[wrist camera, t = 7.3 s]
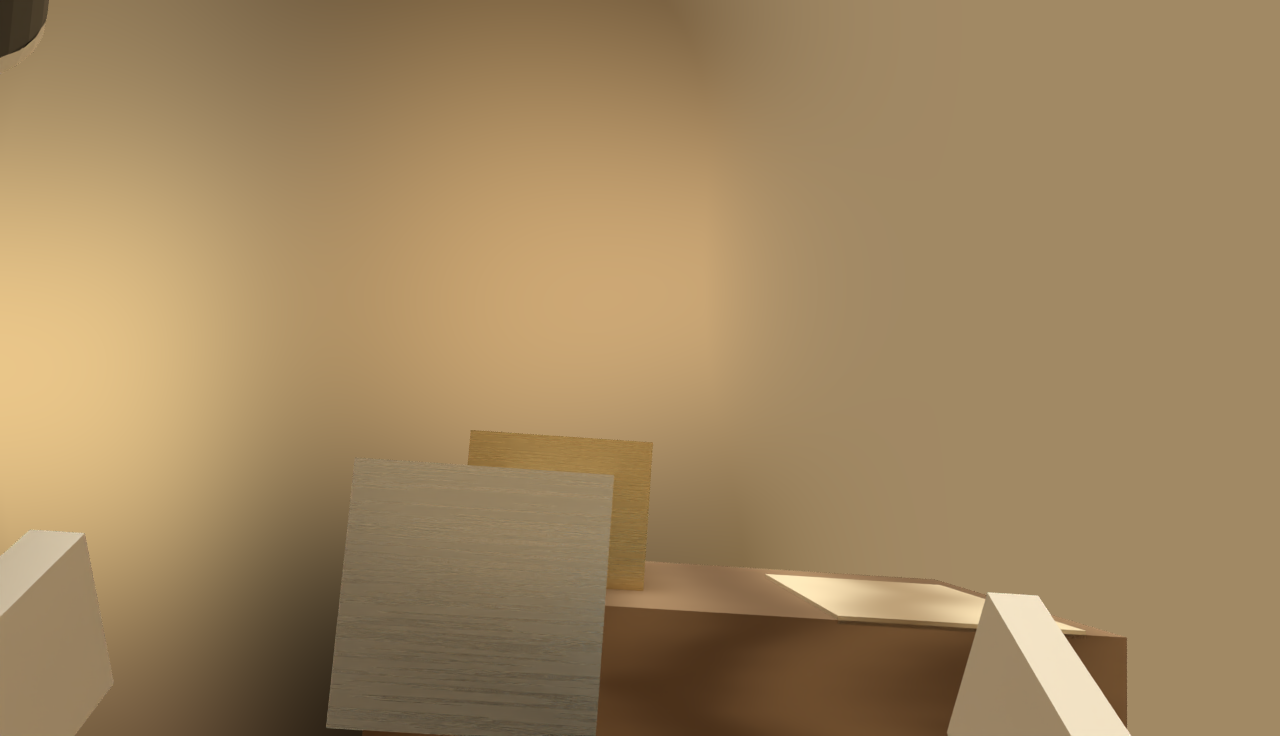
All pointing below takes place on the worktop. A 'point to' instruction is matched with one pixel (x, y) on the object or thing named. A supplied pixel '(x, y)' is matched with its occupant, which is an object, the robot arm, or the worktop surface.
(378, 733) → the walnut shelf
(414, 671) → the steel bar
